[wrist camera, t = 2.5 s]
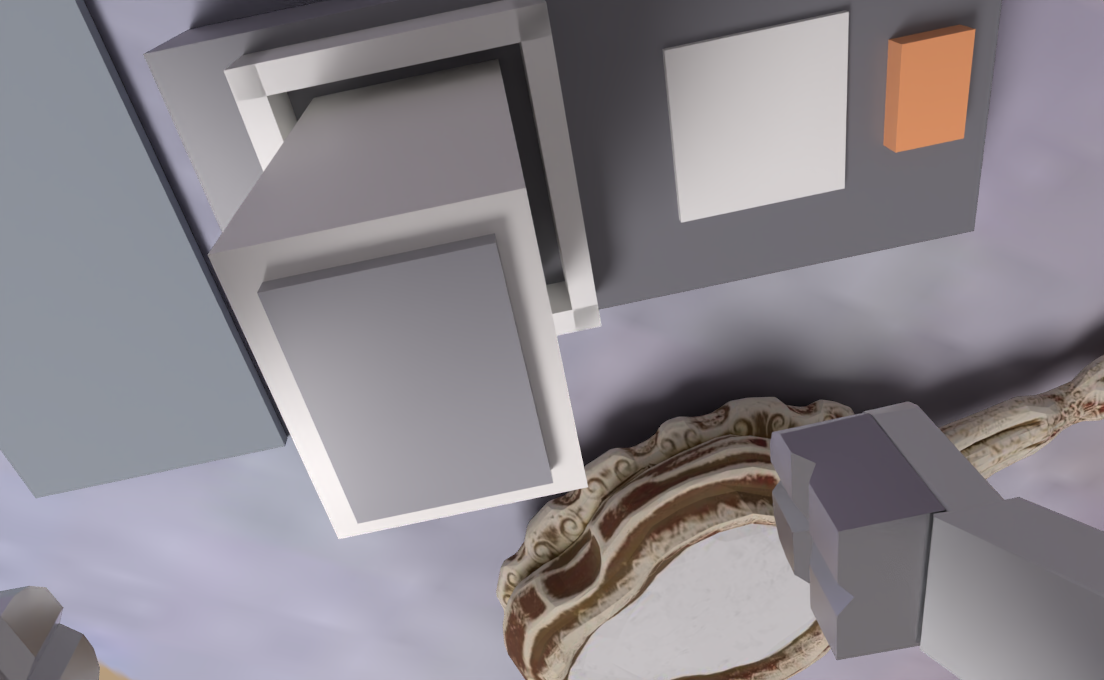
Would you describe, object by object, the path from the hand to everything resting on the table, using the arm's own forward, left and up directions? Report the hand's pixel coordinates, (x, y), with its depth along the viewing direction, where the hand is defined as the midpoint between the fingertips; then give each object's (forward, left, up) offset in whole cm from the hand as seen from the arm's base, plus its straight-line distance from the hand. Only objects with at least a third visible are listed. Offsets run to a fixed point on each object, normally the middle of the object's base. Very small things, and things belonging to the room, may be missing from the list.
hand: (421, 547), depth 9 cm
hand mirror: (+13, +13, -14) cm, 23 cm away
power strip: (0, +4, -14) cm, 14 cm away
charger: (0, 0, -11) cm, 11 cm away
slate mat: (0, -11, -14) cm, 18 cm away
